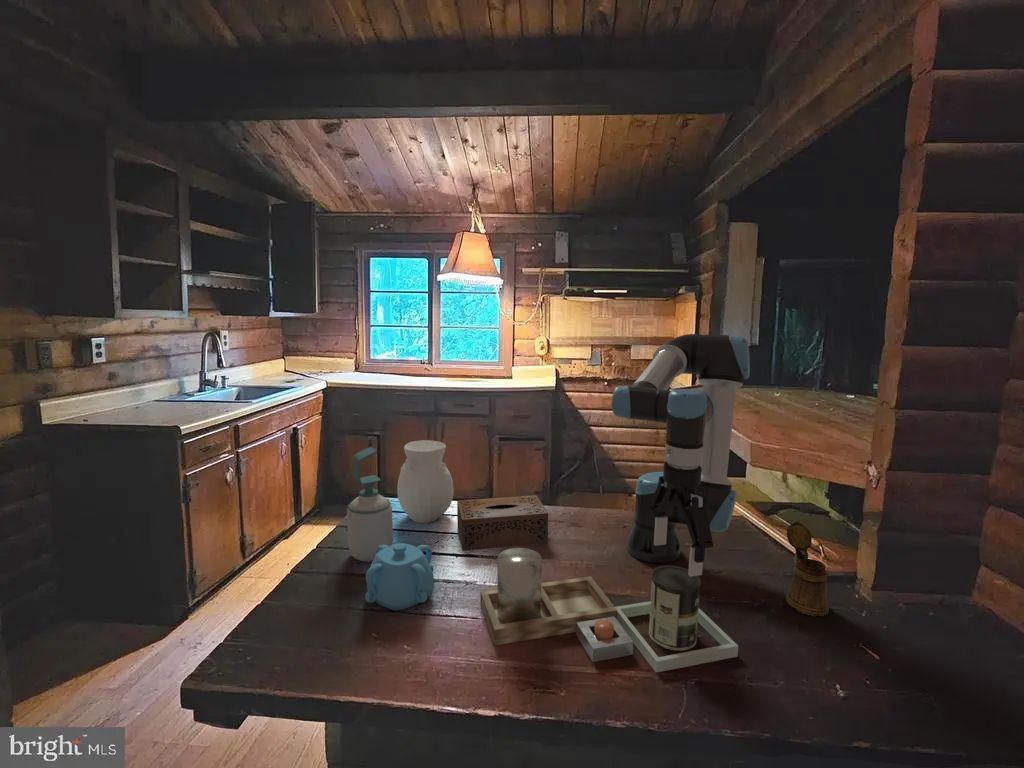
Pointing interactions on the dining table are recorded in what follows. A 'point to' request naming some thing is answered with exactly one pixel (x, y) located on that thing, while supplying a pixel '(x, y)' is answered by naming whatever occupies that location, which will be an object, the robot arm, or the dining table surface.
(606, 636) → the button
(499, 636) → the divided wooden tray
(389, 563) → the decorative pot
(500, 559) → the grey rounded cylinder piece
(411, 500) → the white vase
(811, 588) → the wooden mug
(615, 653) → the button housing
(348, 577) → the dining table surface
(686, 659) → the white square frame
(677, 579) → the coffee can
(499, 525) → the tissue box cover
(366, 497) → the soap bottle
